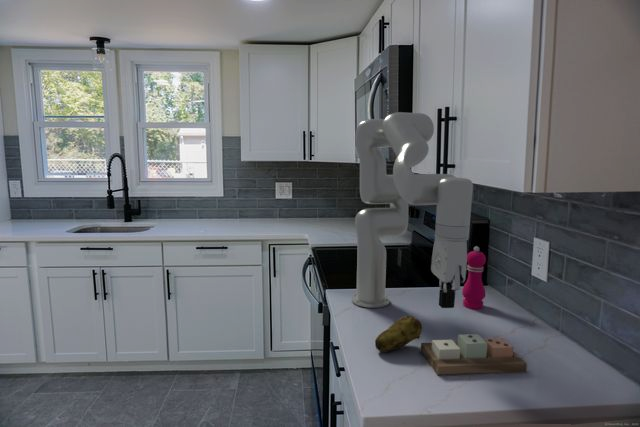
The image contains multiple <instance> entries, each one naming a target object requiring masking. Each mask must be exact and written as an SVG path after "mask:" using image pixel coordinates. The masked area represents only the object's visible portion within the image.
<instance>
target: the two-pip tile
mask: <svg viewBox="0 0 640 427" xmlns="http://www.w3.org/2000/svg"><path fill="white" fill-rule="evenodd" d="M483 339H484V338H482V337H481V335H479V334H478V333H474V334H472V333H471V334H469V333H468V334H457V342H458V345H457V346H458V347H459V348H460V354H461V355H462V356H463V357H464V358H465V359H473V358H486V355H487V342H485V341H484V340H483Z"/></svg>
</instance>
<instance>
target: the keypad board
mask: <svg viewBox="0 0 640 427" xmlns="http://www.w3.org/2000/svg"><path fill="white" fill-rule="evenodd" d="M454 343H455V344H456V345H458V341H454ZM420 352H421V354H422V355H423V356H424V358H425V359H426V360H427V362H428V364H429V365H430V367H431V368H432V369H433V371H434V372H435V374H436V375H437V376H439V377H440V376H441V377H442V376H462V375H463V376H464V375H466V376H467V375H487V374H488V375H489V374H513V373H517V374H519V373H527V368H528V366H527V365H528V363H527V362H526V361H525V360H524V359H523V358H522V357H520V356H519V355H518V354H517V353H516V352H514V351H513V357H502V358H491V357H490V356H489V355H488V354H487V355H486V358H473V359H465V358H464V357H463V356H462V355H461V354H460V359H444V360H438V359H437V358H436V356H435V355H434V354H433V352H432V341H431V342H421V343H420Z"/></svg>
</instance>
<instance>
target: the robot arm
mask: <svg viewBox="0 0 640 427" xmlns="http://www.w3.org/2000/svg"><path fill="white" fill-rule="evenodd" d="M434 131H435V126H434V122H433V120H432V118H431V117H430V116H429V115H428V114H425V113H422V112H421V113H420V112H402V111H399V112H394V113H390V114H388V115H387V116H386V117H385V118H371V119H364V120H362V121H361V122H359V124H358V125H357V127H356V130H355V136H354V138H355V148H356V152H357V155H358V159H359V195H360V199H361V201H362V202H363V203H364V204H368V205H384V204H385V205H387V204H389V207H373V208H372V207H370V208H364V209H361V210H360V211H359V212H357V214H356V215H355V218H354V223H355V231H356V241H357V246H356V247H357V251H356V252H357V258H356V260H357V261H356V262H357V263H356V264H357V265H356V293H355V294H353V295H352V296H351V303H353V304H354V305H356V306H359V307H363V308H370V309H377V308H378V309H379V308H383V307H386V306H388V305H389V304H390V298H389V297H388V296H387V295H386V277H387V275H386V274H387V272H386V271H387V249H386V247H385V245H384V244H383V242H382V241H381V238H385V237H386V238H387V237H399V236H402V235H404V234H406V232H407V230H408V227H409V205H412V206H432V205H433V206H436V212H435V227H434V228H435V229H434V243H433V248H432V255H431V262H430V263H431V265H430V270H431V273H432V274H433V276H436V277H437V279H438V280H439V282H438V283H439V287H438V288H439V293H438V294H439V295H438V306H440V308H441V309H453V308H455V300H456V294H457V291H460V290H461V284H463V283H464V282H465V281H466V275H467V265H468V263H467V254H468V252H467V251H468V247H467V241H469V238H470V226H471V213H472V201H473V189H474V185H473V182H472V180H471V179H469V178H466V177H458V176H455V175H452V174H447V173H414V172H413V170H412V168H413V167H415V166H418V165H419V164H421V163H422V162H423V161H424V160H425V159H426V157H427V156H428V154H429V149H430V148H429V144H428V142H430V140H431V139H432V137H433V135H434V133H435V132H434ZM380 148H391V149H392V150H393V152H394V154H395V156H396V158H395V161H394V163H393V169H392V174H387V160H386V158H385V155H384V153H383V152H382V151H381V150H380Z"/></svg>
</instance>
